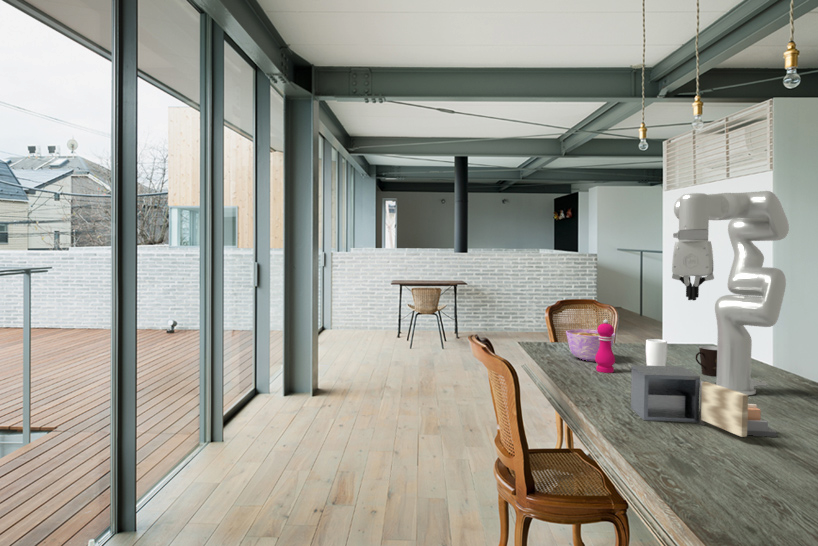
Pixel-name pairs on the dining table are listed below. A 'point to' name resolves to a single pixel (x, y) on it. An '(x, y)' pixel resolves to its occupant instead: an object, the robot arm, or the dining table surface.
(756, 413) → the knob
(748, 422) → the panel
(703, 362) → the coffee mug
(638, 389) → the cabinet
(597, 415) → the dining table surface
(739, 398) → the door
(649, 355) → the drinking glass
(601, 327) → the pepper mill
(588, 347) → the bowl of food
